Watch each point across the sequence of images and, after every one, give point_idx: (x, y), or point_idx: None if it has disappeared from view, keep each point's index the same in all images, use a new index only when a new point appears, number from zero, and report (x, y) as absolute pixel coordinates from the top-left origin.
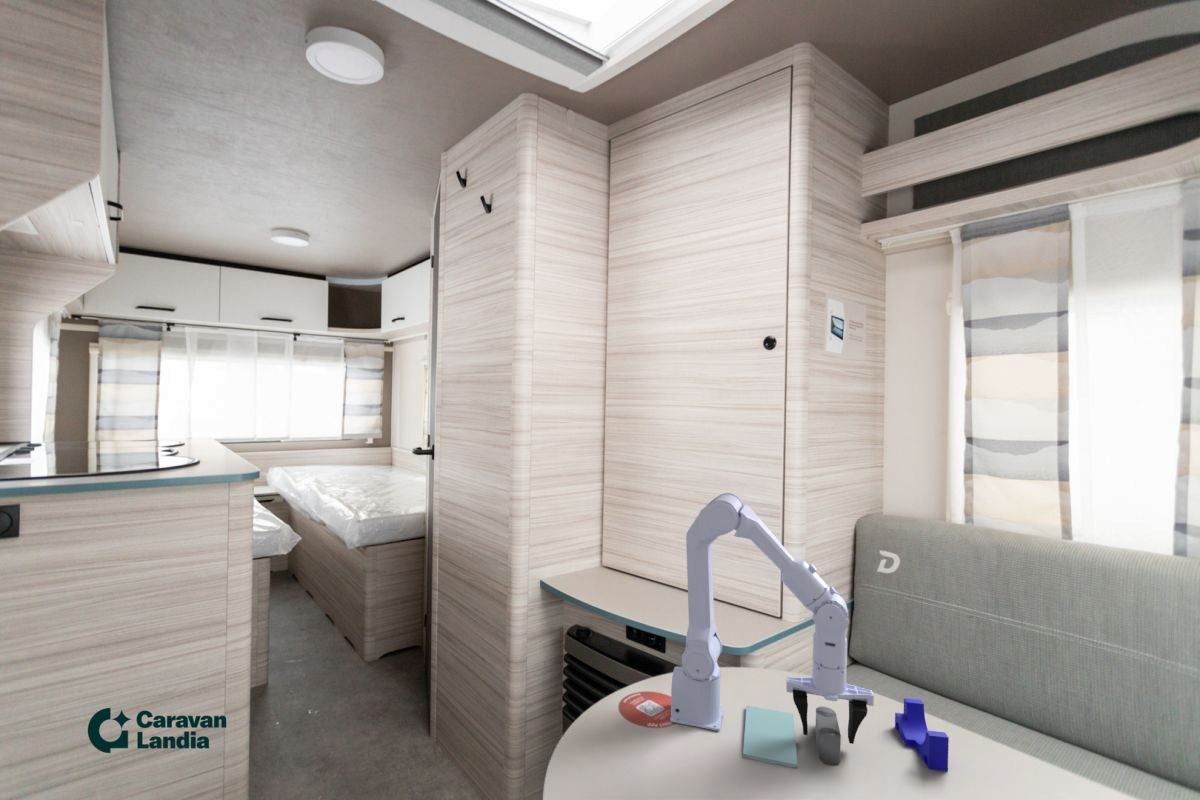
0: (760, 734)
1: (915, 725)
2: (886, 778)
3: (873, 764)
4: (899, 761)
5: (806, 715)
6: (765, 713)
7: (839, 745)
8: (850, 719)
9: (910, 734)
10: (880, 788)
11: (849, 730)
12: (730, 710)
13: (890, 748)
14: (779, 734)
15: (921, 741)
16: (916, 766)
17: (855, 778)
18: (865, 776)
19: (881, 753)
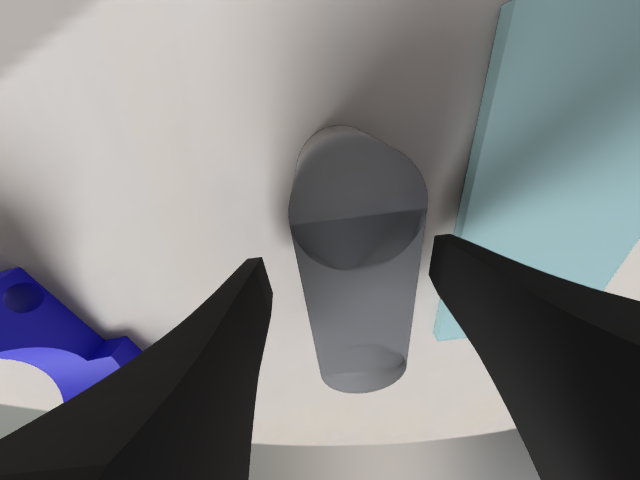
0: (609, 193)
1: None
2: (106, 139)
3: (180, 212)
4: (112, 266)
5: (536, 290)
6: None
7: (296, 175)
8: (238, 359)
9: (106, 375)
10: (95, 31)
11: (256, 305)
12: (631, 292)
13: (159, 312)
14: (522, 226)
15: (69, 362)
16: (57, 264)
17: (220, 66)
18: (185, 109)
19: (175, 281)
